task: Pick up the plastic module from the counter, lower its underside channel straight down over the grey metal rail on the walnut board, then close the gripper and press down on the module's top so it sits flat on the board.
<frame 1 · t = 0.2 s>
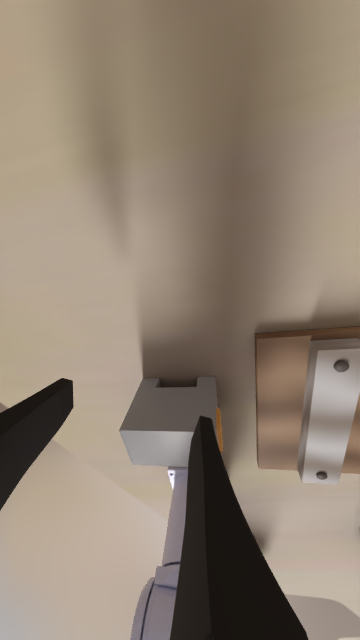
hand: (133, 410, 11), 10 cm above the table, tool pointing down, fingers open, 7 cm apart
module: (181, 393, 23), on the table
rail board: (317, 406, 21), on the table
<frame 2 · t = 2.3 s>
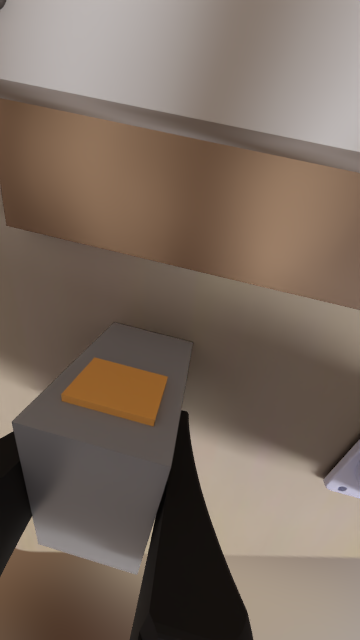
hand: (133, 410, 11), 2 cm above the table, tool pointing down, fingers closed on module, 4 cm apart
module: (144, 386, 13), on the table, touching gripper
rail board: (252, 93, 7), on the table
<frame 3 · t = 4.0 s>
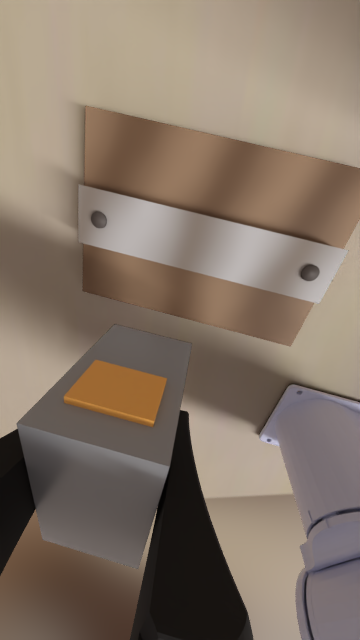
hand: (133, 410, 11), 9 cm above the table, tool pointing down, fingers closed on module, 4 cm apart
module: (144, 386, 13), point 7 cm above the table, touching gripper
rail board: (204, 243, 16), on the table
when the fingers open (4 cm above the table, at t = 6.0 s): module stays where it is, resting on rail board.
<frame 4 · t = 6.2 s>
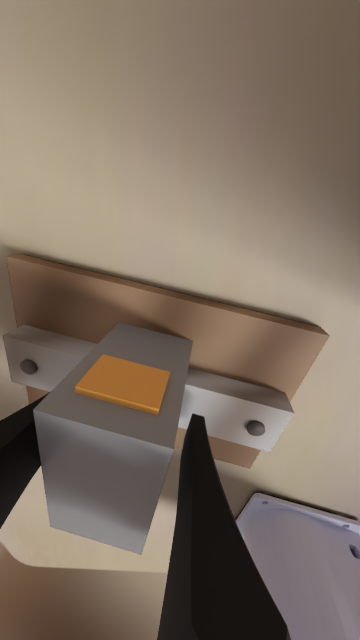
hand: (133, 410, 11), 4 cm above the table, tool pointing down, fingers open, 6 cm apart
module: (146, 382, 14), point 1 cm above the table, touching rail board
rail board: (151, 369, 15), on the table
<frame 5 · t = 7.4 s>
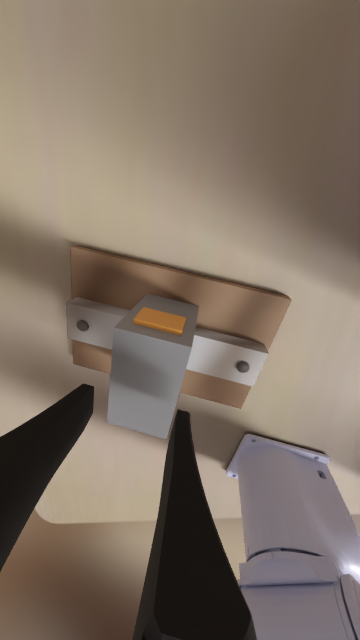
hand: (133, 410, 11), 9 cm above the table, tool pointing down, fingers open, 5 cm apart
module: (164, 339, 19), point 1 cm above the table, touching rail board
rail board: (167, 331, 20), on the table
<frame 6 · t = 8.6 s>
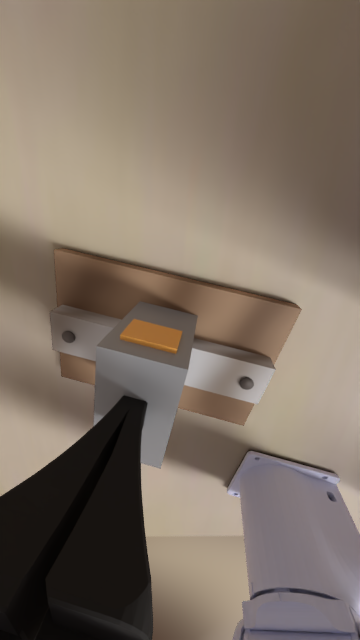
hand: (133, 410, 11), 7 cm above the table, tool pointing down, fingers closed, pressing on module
module: (160, 351, 17), point 1 cm above the table, touching gripper, rail board
rail board: (163, 342, 18), on the table
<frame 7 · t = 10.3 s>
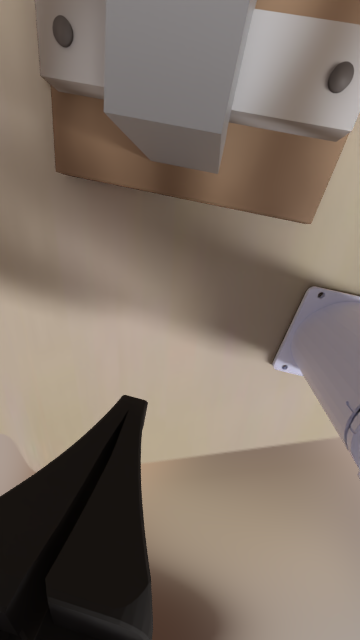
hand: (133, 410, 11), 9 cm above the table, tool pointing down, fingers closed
module: (197, 83, 12), point 1 cm above the table, touching rail board
rail board: (199, 85, 13), on the table
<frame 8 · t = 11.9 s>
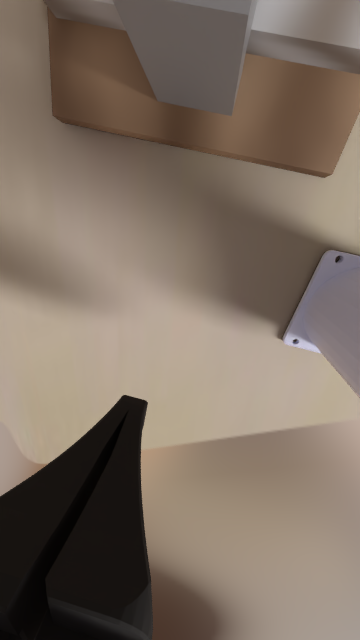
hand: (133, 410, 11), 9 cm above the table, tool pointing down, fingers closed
module: (212, 4, 11), point 1 cm above the table, touching rail board
rail board: (213, 13, 11), on the table
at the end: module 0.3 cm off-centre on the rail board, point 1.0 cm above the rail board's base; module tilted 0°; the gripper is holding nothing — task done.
